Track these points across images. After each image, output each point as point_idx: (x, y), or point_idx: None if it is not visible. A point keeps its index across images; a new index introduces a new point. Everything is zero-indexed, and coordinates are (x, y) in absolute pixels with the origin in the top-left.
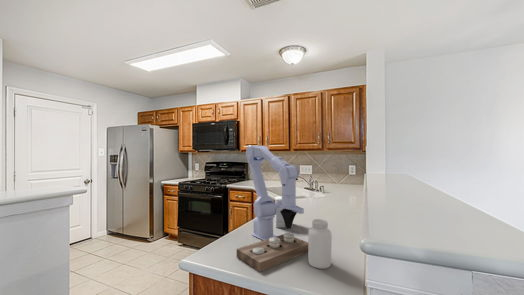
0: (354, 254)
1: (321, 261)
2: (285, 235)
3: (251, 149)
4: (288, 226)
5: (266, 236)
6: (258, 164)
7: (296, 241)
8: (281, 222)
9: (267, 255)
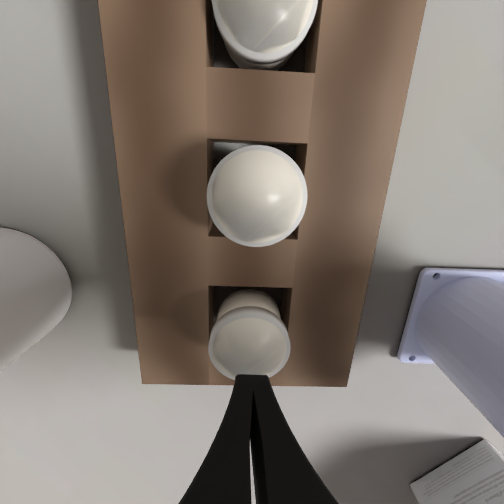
0: (19, 449)
1: None
2: (258, 325)
3: None
4: (233, 395)
5: (438, 301)
6: None
7: None
8: (481, 486)
9: (157, 6)
